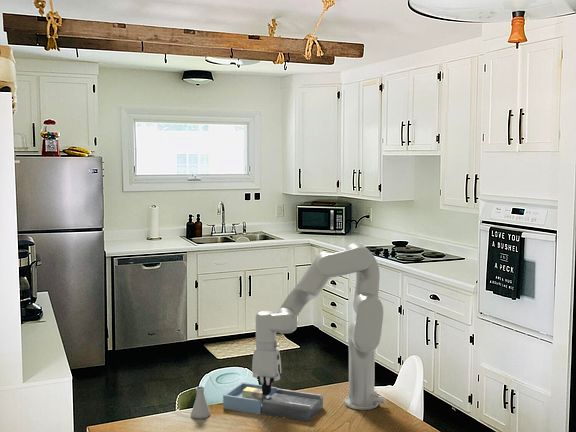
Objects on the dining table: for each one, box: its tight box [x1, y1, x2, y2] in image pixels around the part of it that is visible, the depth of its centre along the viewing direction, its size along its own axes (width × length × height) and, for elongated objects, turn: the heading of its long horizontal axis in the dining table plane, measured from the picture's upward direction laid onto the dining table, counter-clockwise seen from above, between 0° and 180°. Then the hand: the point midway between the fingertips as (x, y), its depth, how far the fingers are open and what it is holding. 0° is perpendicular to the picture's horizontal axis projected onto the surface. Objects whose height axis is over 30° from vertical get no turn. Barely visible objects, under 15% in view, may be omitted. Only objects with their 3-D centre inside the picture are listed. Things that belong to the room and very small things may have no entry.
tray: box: [222, 382, 278, 415], centre depth 228 cm, size 15×15×5 cm
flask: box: [190, 386, 211, 419], centre depth 217 cm, size 7×7×10 cm
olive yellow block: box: [242, 387, 256, 399], centre depth 228 cm, size 4×4×3 cm
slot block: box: [262, 387, 324, 423], centre depth 221 cm, size 18×14×5 cm
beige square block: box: [252, 388, 266, 401], centre depth 227 cm, size 4×4×3 cm
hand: (266, 394), depth 225 cm, fingers closed
